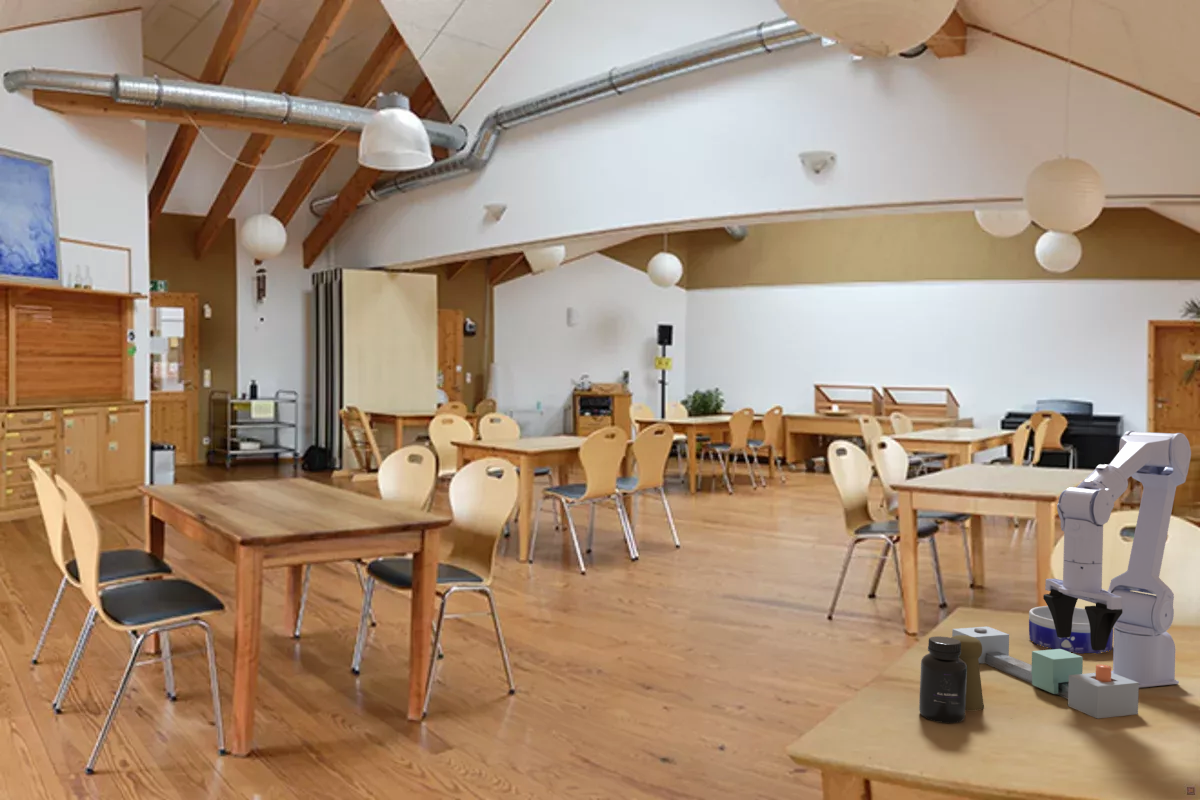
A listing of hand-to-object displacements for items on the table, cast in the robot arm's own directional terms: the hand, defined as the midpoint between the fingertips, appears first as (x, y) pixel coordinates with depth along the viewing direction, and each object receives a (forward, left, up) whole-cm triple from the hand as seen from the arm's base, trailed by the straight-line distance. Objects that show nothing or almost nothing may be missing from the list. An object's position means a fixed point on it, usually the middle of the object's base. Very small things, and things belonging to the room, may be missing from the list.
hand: (1080, 643), depth 158 cm
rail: (0, -10, -10) cm, 14 cm away
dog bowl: (-25, -29, -10) cm, 40 cm away
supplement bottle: (+27, +1, -10) cm, 29 cm away
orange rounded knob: (0, +5, -6) cm, 8 cm away
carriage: (0, -5, -9) cm, 11 cm away
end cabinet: (0, +5, -9) cm, 11 cm away
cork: (+20, -3, -10) cm, 22 cm away
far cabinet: (0, -25, -10) cm, 26 cm away
